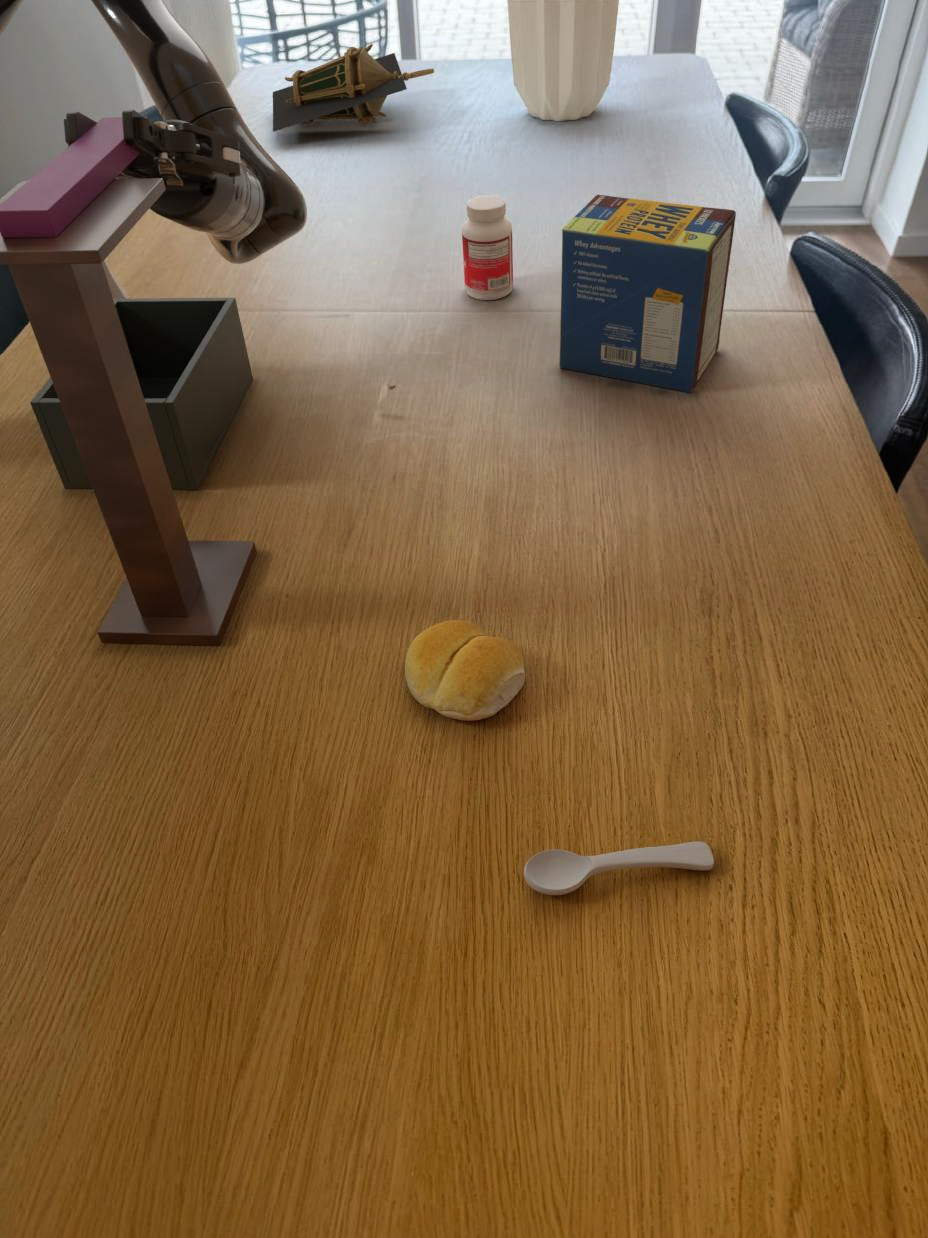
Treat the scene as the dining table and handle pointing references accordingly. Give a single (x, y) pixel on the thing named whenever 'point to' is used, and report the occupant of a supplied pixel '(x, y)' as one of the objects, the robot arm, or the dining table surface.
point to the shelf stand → (121, 429)
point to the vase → (562, 54)
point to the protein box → (644, 290)
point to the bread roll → (463, 670)
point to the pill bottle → (487, 249)
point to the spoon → (608, 864)
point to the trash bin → (169, 384)
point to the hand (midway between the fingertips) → (100, 126)
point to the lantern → (341, 89)
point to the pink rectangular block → (67, 183)
